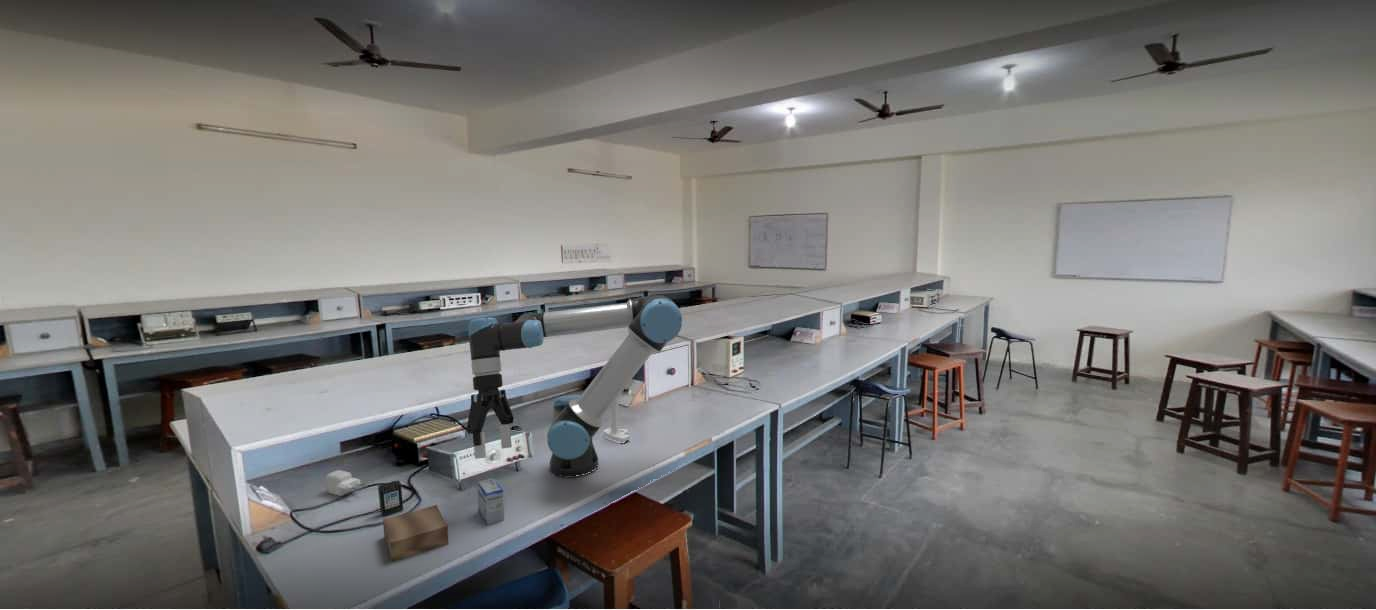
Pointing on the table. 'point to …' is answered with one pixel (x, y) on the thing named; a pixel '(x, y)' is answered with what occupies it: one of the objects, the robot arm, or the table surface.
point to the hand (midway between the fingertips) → (494, 452)
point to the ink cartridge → (390, 498)
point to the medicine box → (490, 501)
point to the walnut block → (415, 532)
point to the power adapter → (341, 483)
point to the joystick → (616, 425)
